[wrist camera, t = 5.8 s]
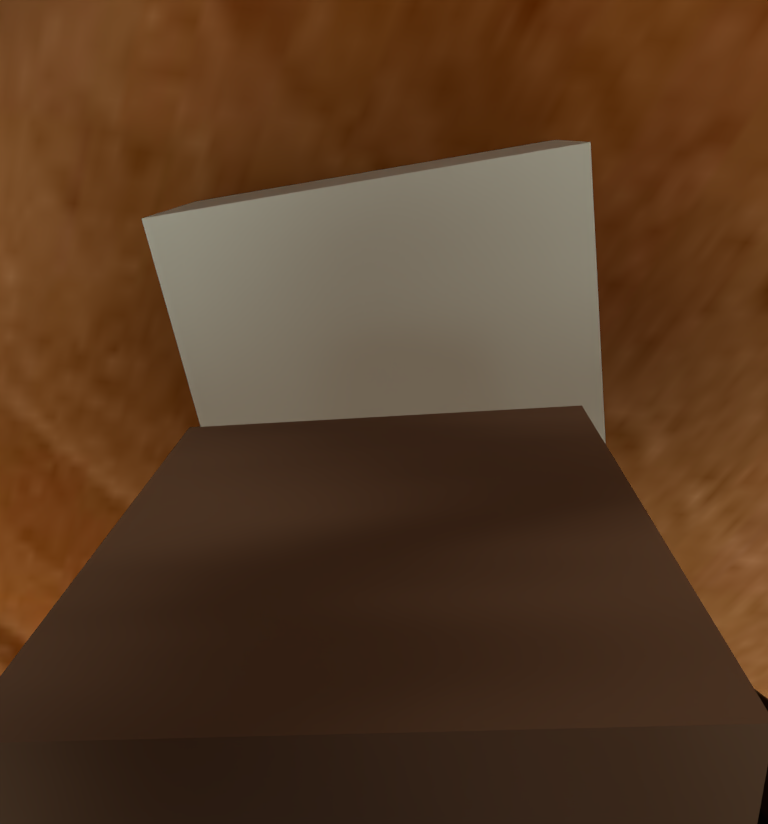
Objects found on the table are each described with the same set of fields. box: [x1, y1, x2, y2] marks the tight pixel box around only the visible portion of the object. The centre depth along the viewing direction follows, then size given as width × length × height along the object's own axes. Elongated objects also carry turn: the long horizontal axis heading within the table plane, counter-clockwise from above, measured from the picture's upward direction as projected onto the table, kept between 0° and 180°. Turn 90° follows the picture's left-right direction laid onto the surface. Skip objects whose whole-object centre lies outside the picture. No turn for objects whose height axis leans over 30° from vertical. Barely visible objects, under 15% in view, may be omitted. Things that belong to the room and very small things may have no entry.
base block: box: [142, 140, 606, 444], centre depth 17 cm, size 9×9×4 cm
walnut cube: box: [0, 405, 768, 824], centre depth 7 cm, size 5×5×5 cm
